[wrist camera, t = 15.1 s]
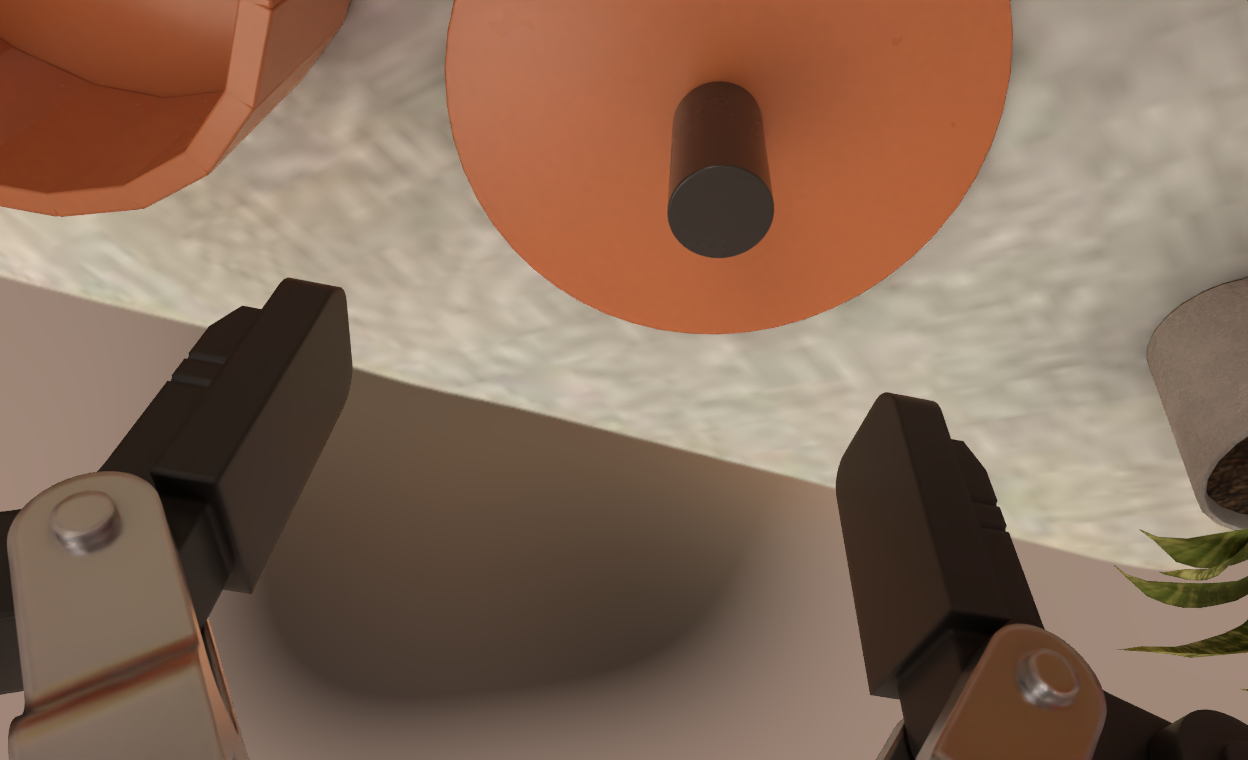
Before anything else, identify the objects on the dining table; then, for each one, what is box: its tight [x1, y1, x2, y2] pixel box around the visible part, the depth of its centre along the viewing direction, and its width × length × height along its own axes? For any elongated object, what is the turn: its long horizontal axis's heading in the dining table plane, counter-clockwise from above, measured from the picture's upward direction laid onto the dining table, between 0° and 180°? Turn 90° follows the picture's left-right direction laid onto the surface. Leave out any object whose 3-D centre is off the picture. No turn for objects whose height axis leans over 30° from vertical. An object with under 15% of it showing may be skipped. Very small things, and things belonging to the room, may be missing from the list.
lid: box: [445, 0, 1013, 334], centre depth 20 cm, size 16×16×6 cm
